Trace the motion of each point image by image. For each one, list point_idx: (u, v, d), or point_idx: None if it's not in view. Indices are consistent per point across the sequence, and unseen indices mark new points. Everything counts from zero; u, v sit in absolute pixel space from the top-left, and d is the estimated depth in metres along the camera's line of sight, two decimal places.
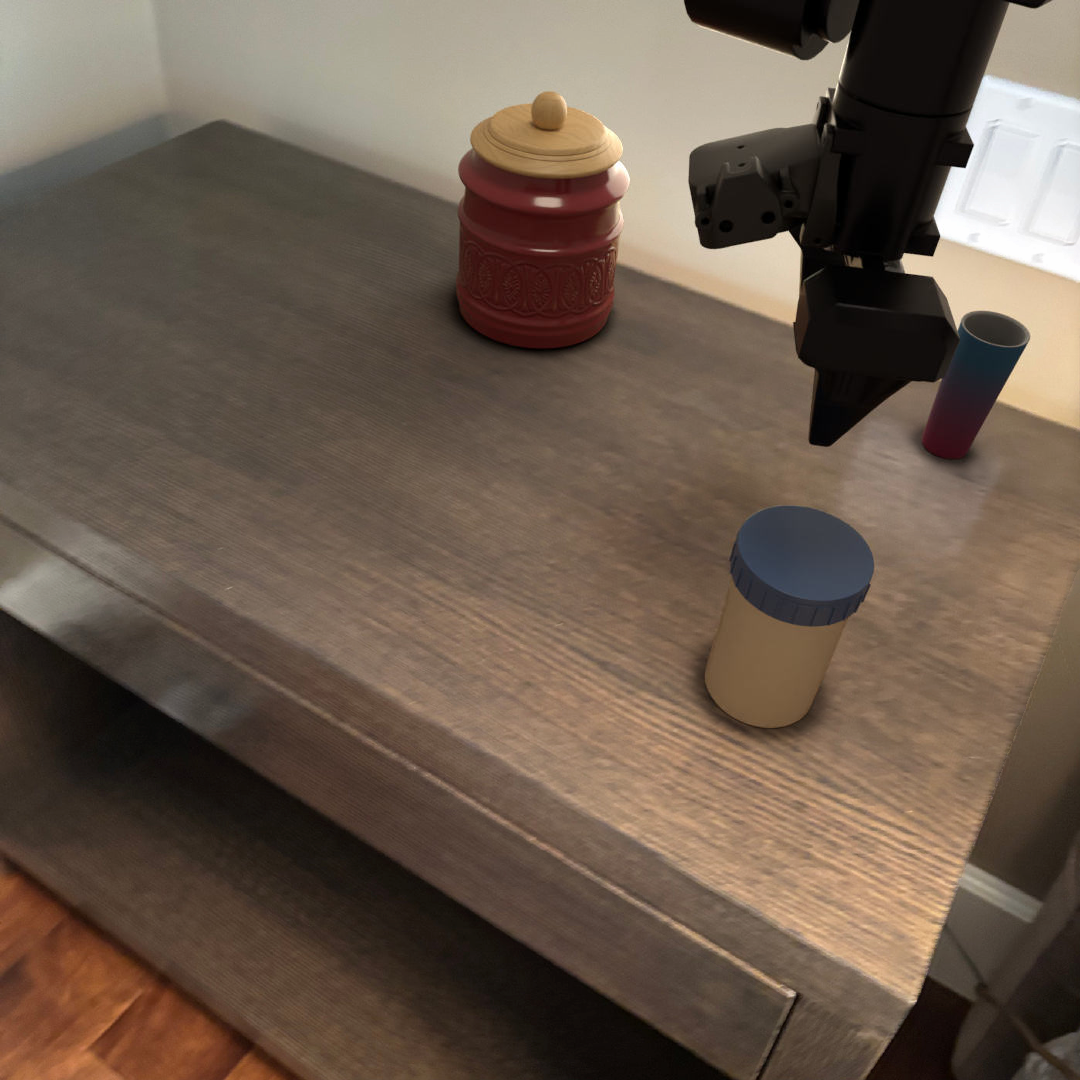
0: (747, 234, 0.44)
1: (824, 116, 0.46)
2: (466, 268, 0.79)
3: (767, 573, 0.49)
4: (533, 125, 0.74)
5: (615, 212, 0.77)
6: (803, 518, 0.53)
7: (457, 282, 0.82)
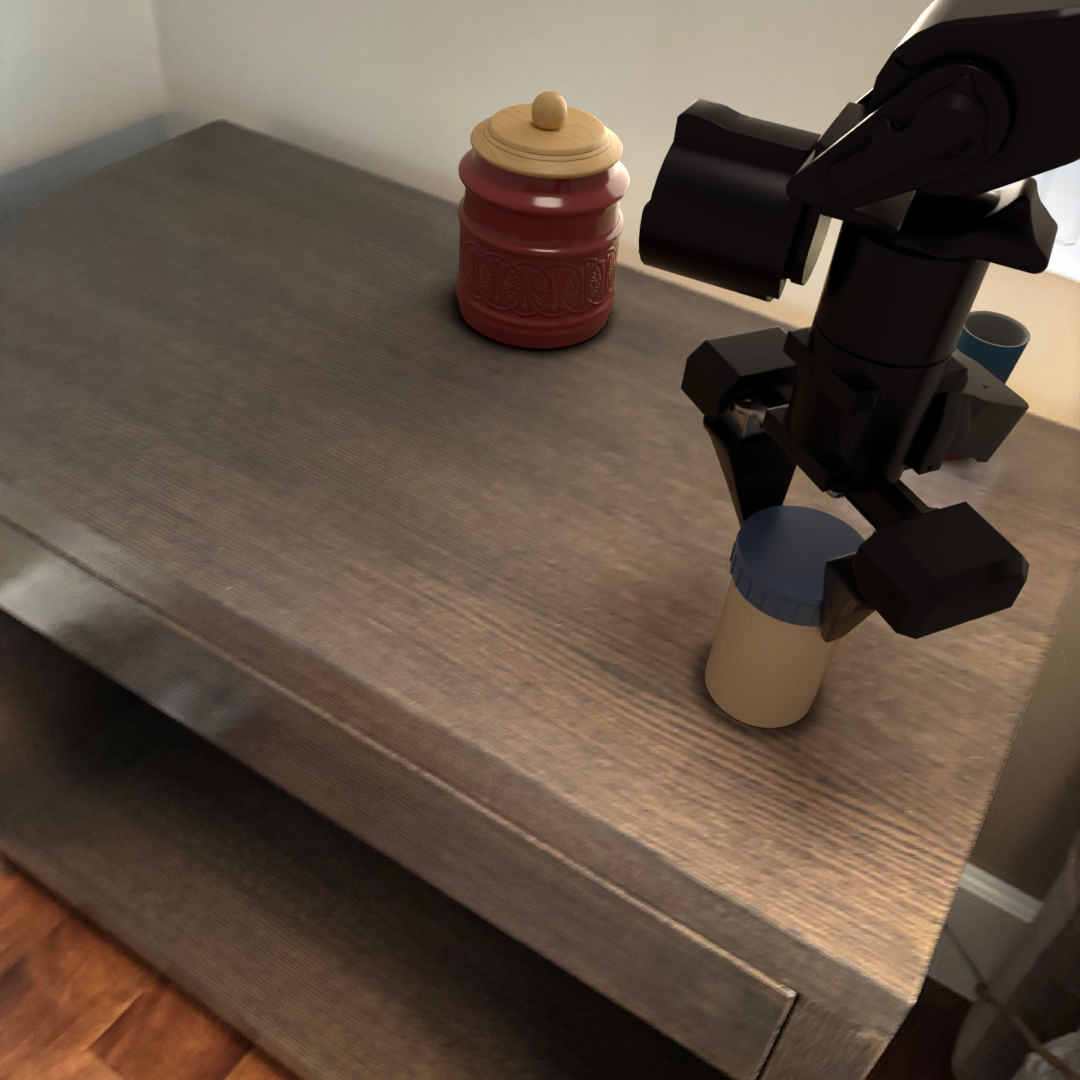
0: None
1: None
2: (466, 268, 0.79)
3: (767, 573, 0.49)
4: (533, 125, 0.74)
5: (615, 212, 0.77)
6: (803, 518, 0.53)
7: (457, 282, 0.82)
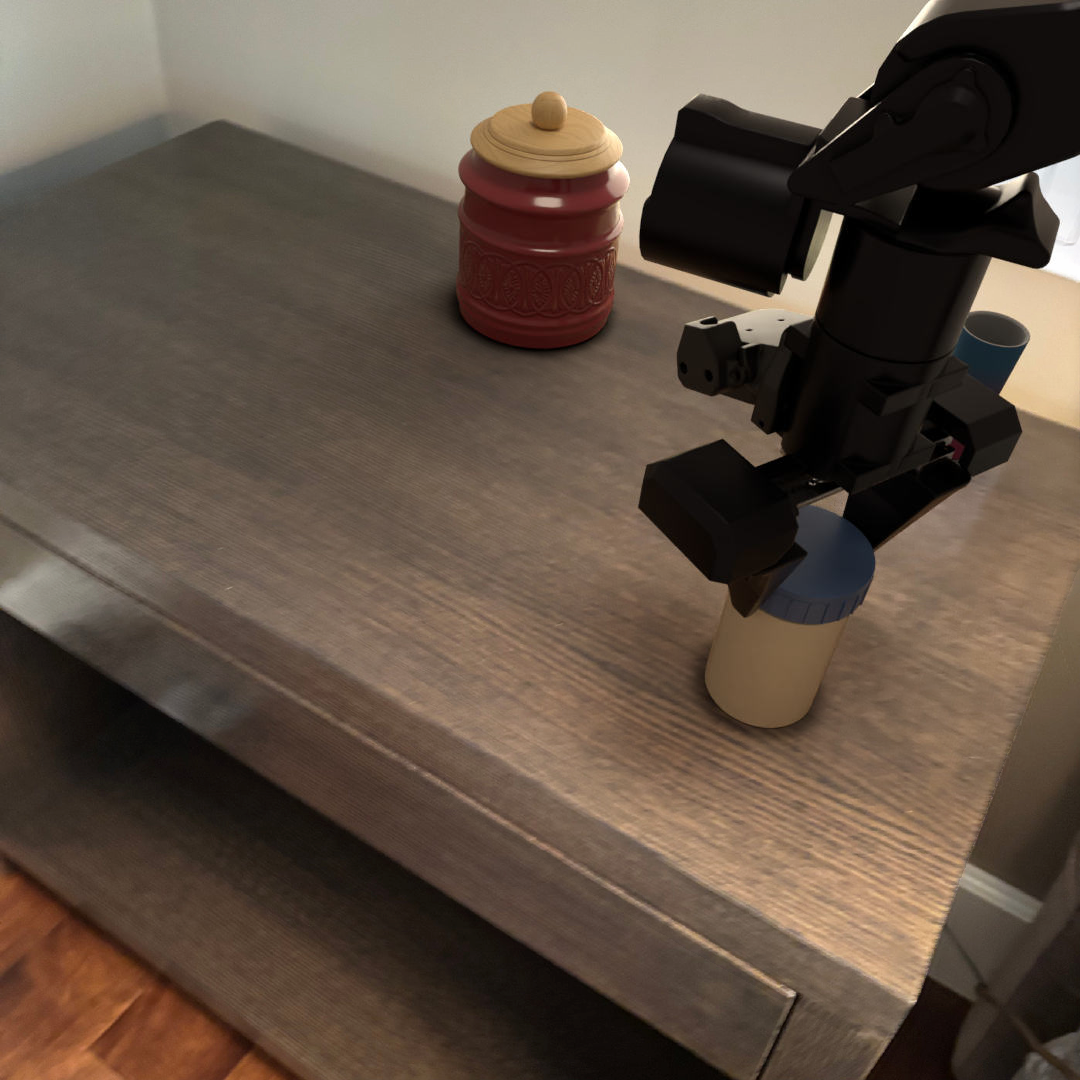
0: (695, 383, 0.47)
1: None
2: (466, 268, 0.79)
3: (856, 577, 0.49)
4: (533, 125, 0.74)
5: (615, 212, 0.77)
6: None
7: (457, 282, 0.82)
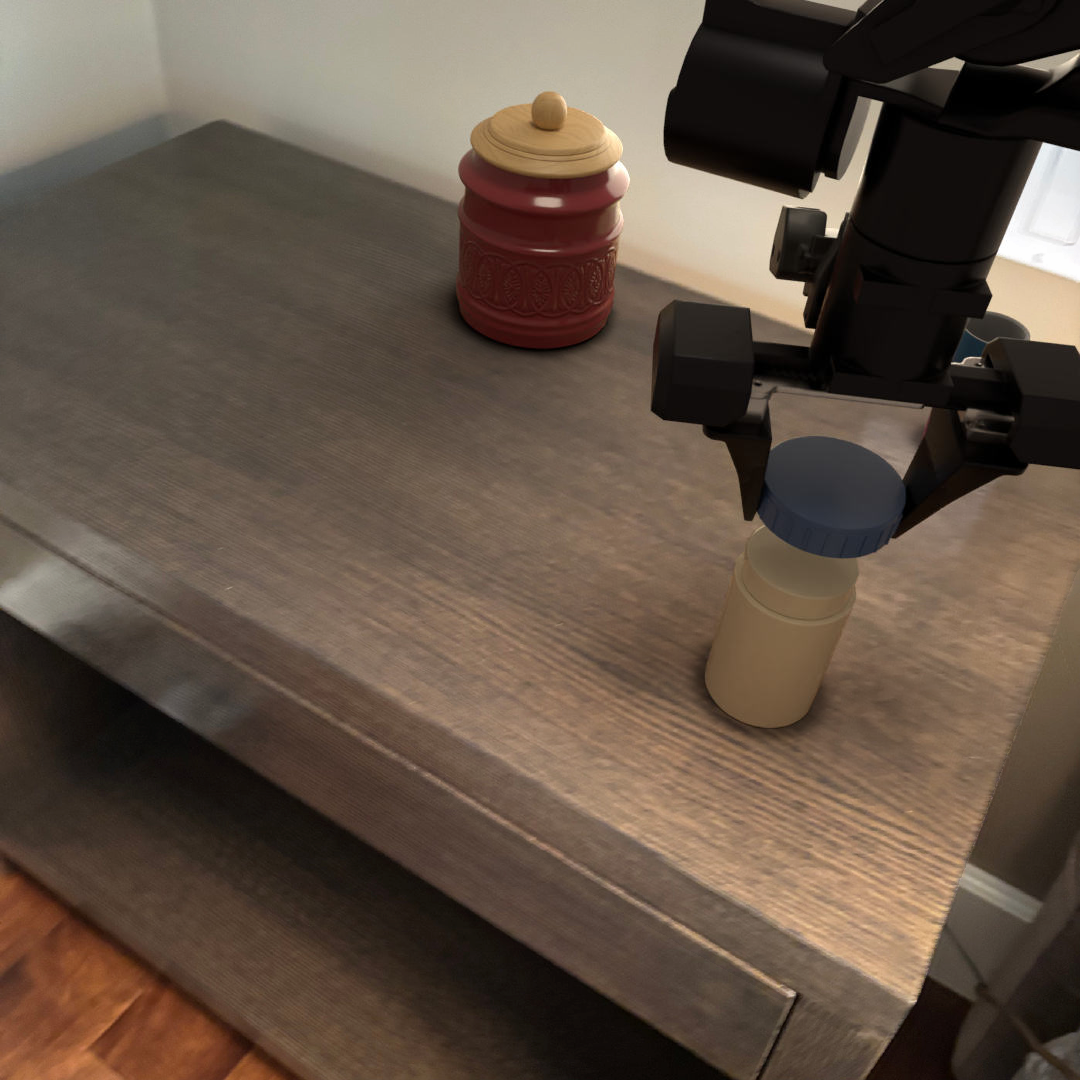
0: (773, 265, 0.47)
1: None
2: (466, 268, 0.79)
3: (856, 520, 0.46)
4: (533, 125, 0.74)
5: (615, 212, 0.77)
6: (789, 457, 0.49)
7: (457, 282, 0.82)
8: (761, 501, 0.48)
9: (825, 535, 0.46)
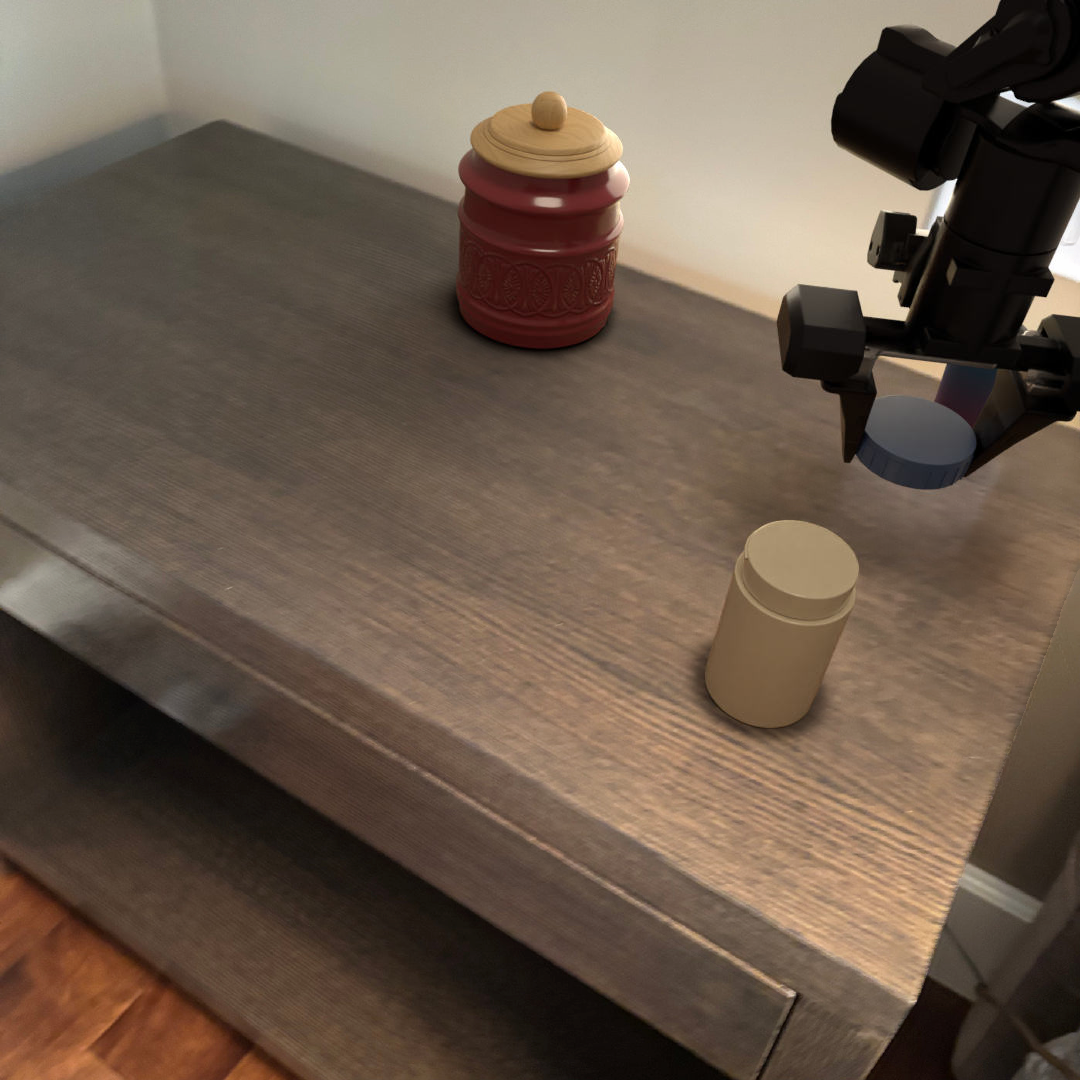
0: (871, 257, 0.60)
1: None
2: (466, 268, 0.79)
3: (938, 458, 0.59)
4: (533, 125, 0.74)
5: (615, 212, 0.77)
6: (881, 411, 0.62)
7: (457, 282, 0.82)
8: (860, 445, 0.61)
9: (914, 470, 0.59)
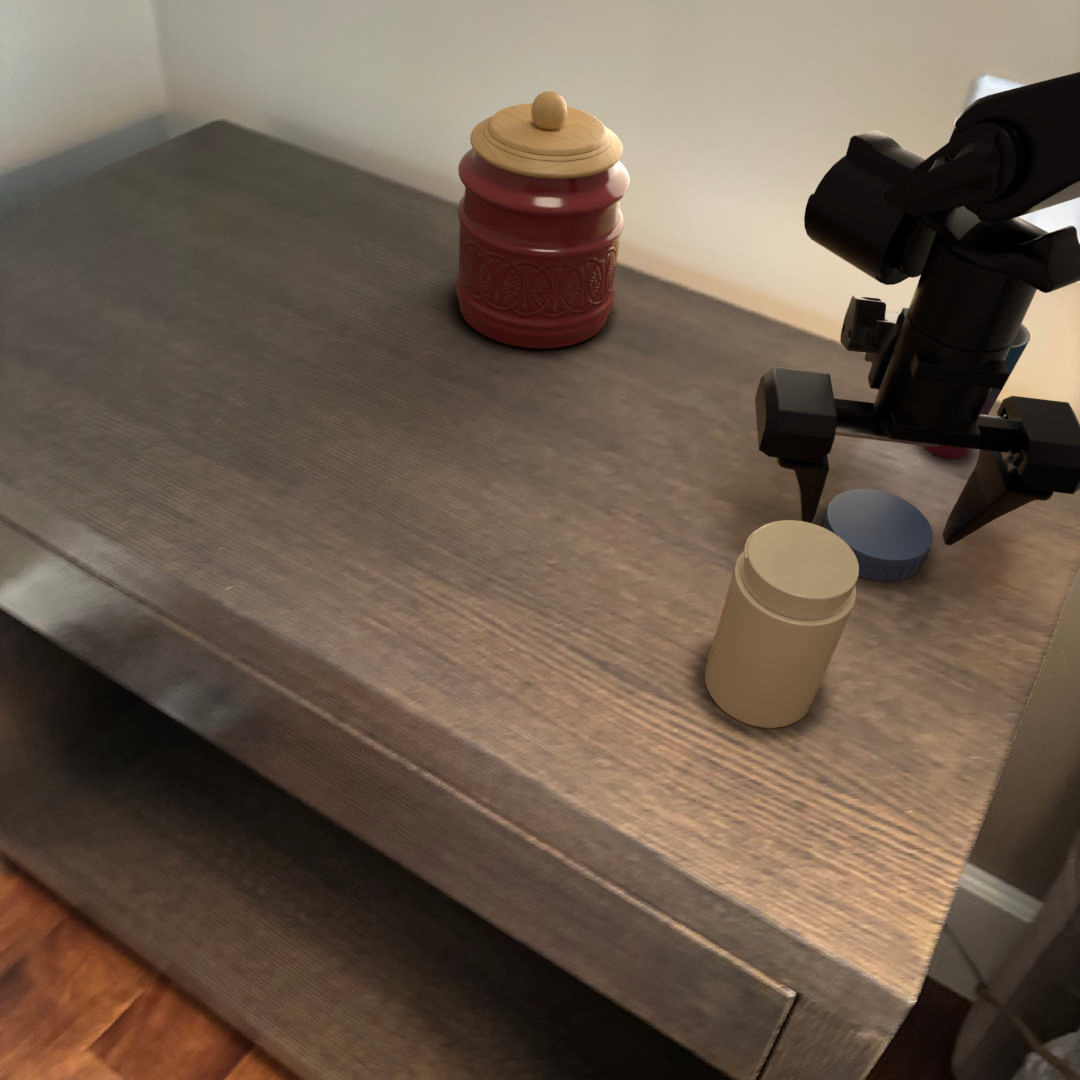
0: (844, 339, 0.64)
1: None
2: (466, 268, 0.79)
3: (897, 554, 0.64)
4: (533, 125, 0.74)
5: (615, 212, 0.77)
6: (846, 506, 0.67)
7: (457, 282, 0.82)
8: None
9: (874, 564, 0.64)
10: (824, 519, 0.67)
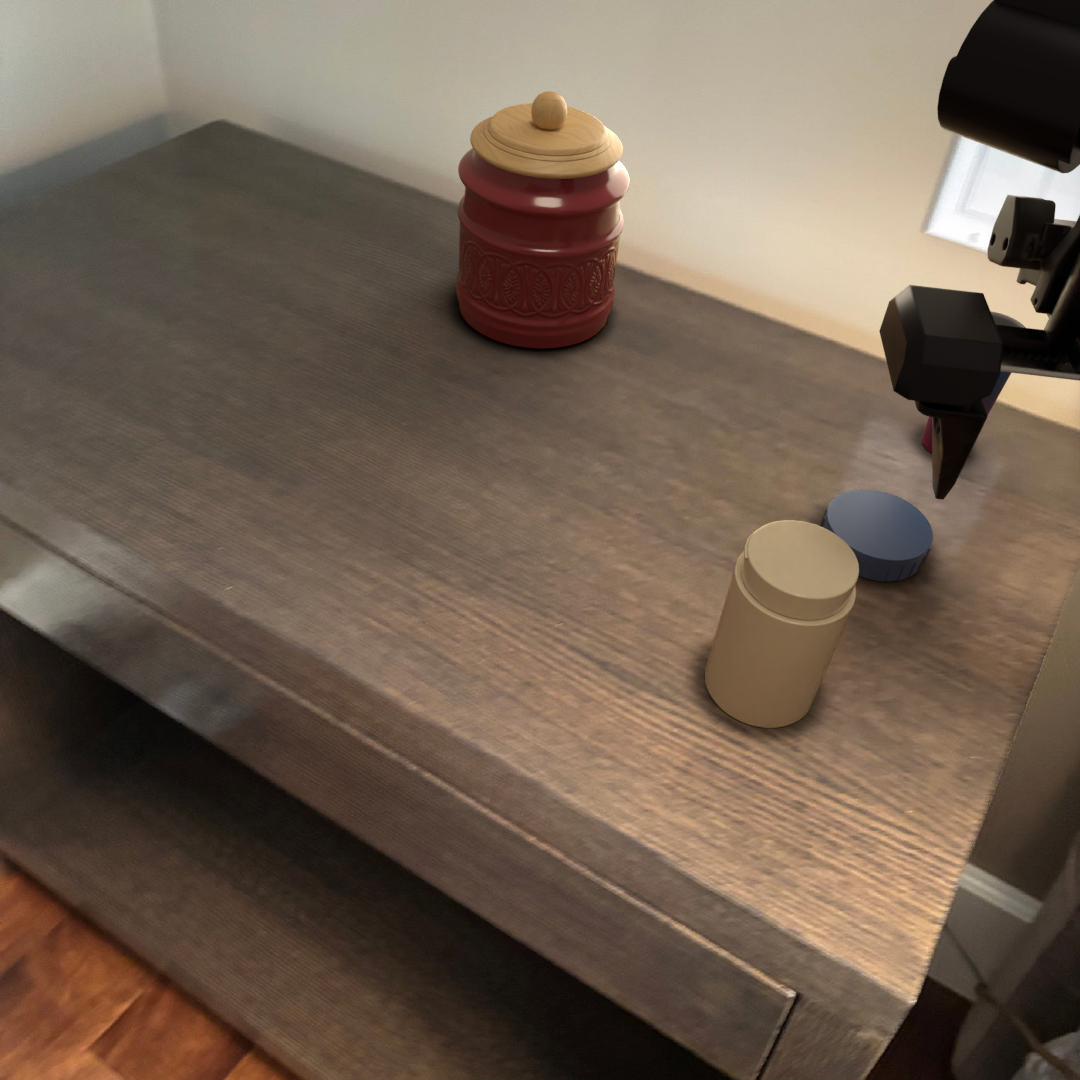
0: (995, 253, 0.49)
1: None
2: (466, 268, 0.79)
3: (897, 554, 0.64)
4: (533, 125, 0.74)
5: (615, 212, 0.77)
6: (846, 506, 0.67)
7: (457, 282, 0.82)
8: None
9: (874, 564, 0.64)
10: (824, 519, 0.67)
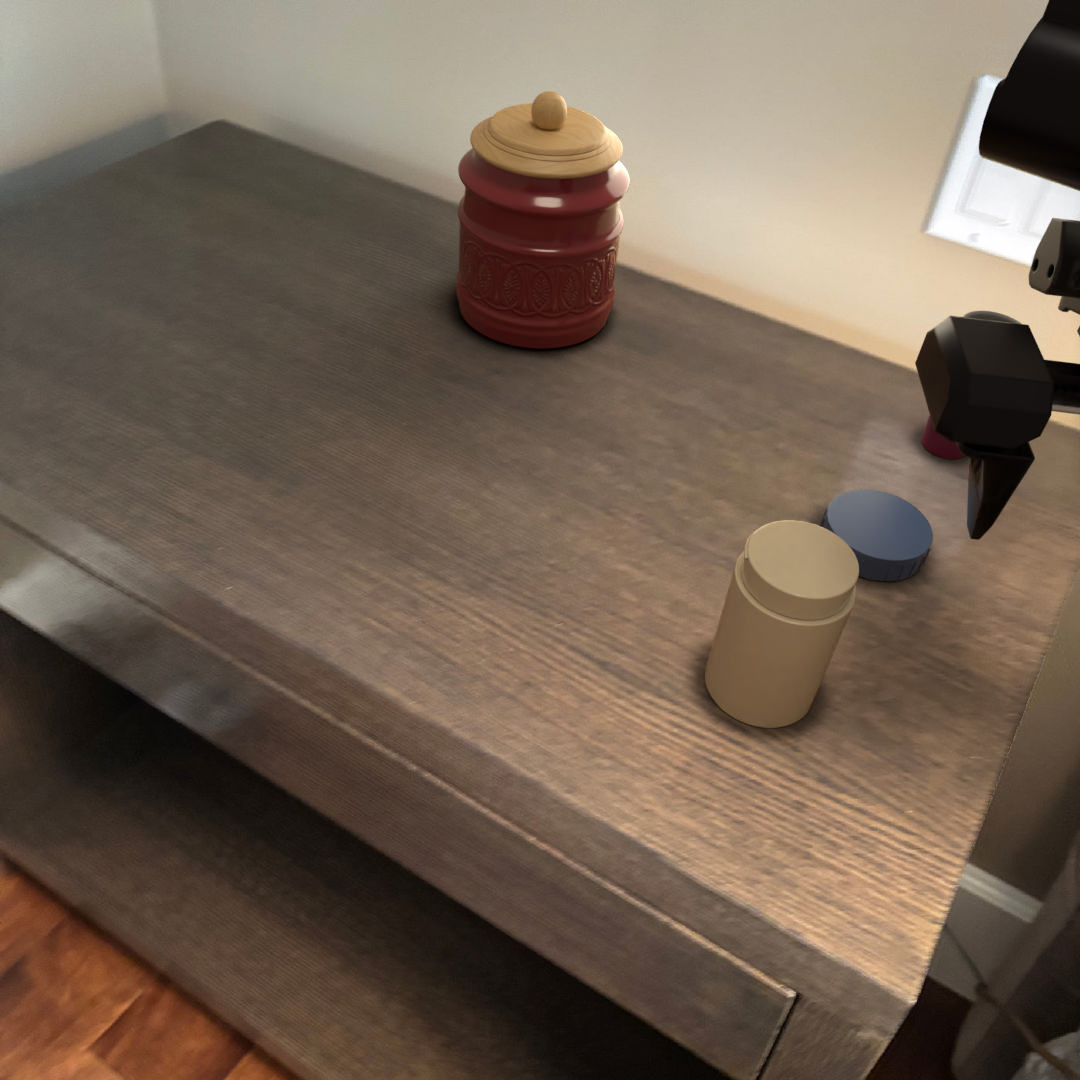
0: (1038, 280, 0.46)
1: None
2: (466, 268, 0.79)
3: (897, 554, 0.64)
4: (533, 125, 0.74)
5: (615, 212, 0.77)
6: (846, 506, 0.67)
7: (457, 282, 0.82)
8: None
9: (874, 564, 0.64)
10: (824, 519, 0.67)
